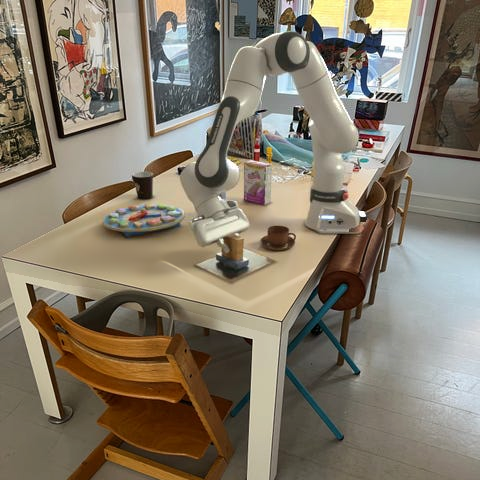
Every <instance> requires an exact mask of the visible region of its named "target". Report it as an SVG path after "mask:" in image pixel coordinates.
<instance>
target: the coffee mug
mask: <svg viewBox="0 0 480 480" xmlns="http://www.w3.org/2000/svg"><path fill="white" fill-rule="evenodd" d="M131 179H132V182H133V184H134V188H135V190H136V191H135V192H136V195H137V199H139V200H142V201H143V200H150V199H153V197H154V195H153V194H154V193H153V192H154V173H153V172H151V171H137V172H134V173H133V174H132V175H131Z"/></svg>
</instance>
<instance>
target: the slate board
mask: <svg viewBox="0 0 480 480" xmlns="http://www.w3.org/2000/svg"><path fill="white" fill-rule="evenodd" d="M243 257H244V258H246V259H249V265H248V266H245V267H243V268H240V269H238V270H237V269H235V268H233V267H231V266H229V265H226V264H224V263H222V262H220V261H218V260H216V256H213V257H211V258H209V259H206V260H204V261H201V262H199V263H196V264H195V266H197V267H200V268H202V269H204V270H206V271H208V272H210V273H212V274H214V275H216V276H218V277H220V278H222V279H224V280H227V281H229V282H232V281H235V280H237V279H239V278H241V277H243V276H245V275H248V274H249V273H252V272H254V271H256V270H259V269H260V268H262V267H264V266H267V265H269V264H271V263H273V262H275V260H273V259H271V258H269V257H266V256H264V255H261V254H260V253H256V252H254V251H251V250H249V249H247V248H244V247H243Z"/></svg>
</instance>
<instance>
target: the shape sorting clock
mask: <svg viewBox="0 0 480 480" xmlns="http://www.w3.org/2000/svg"><path fill="white" fill-rule="evenodd" d="M184 218H185V212H184V210H183V209H182V208H180V207H177V206H173V205H166V204H164V203H159V204H150V203H144V205H138V206H137V205H129V206H127V207H125V208H116V209H115V211H113V212H110V213H108V214H106V215H105V217H103V219H102V223H103V226H104V227H105V228H107V229H109V230H111V231H115V232H120V233H122V234H123V235H124V236H125V237H126V238H129V237H133V236H140V235H145V234H149V233H154V232H158V231H162V230H167V229H173V228H177V227H180V224H181V222H182V221H183V220H184Z"/></svg>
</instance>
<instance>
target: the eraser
mask: <svg viewBox="0 0 480 480" xmlns="http://www.w3.org/2000/svg"><path fill="white" fill-rule="evenodd" d="M223 240H224V243H225V244H226V245H227V246H229V245H230V248H231V249H232V251H230V252H229V253H225V251H224V249H222V248H221V251H219V252H218V253H215V257H216V260H218V261H220V262H222V263H224V264H226V265H229V266H231V267H233V268H235V269H237V270H238V269H240V268H243V267H245V266H248V265H249V259H246V258H244V257H243V248H244V244H245V243H244V242H245V238H244V237H242V236H240V235H239V236H237V235H235V234H230V235H227V236H226V237H224V238H223Z"/></svg>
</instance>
